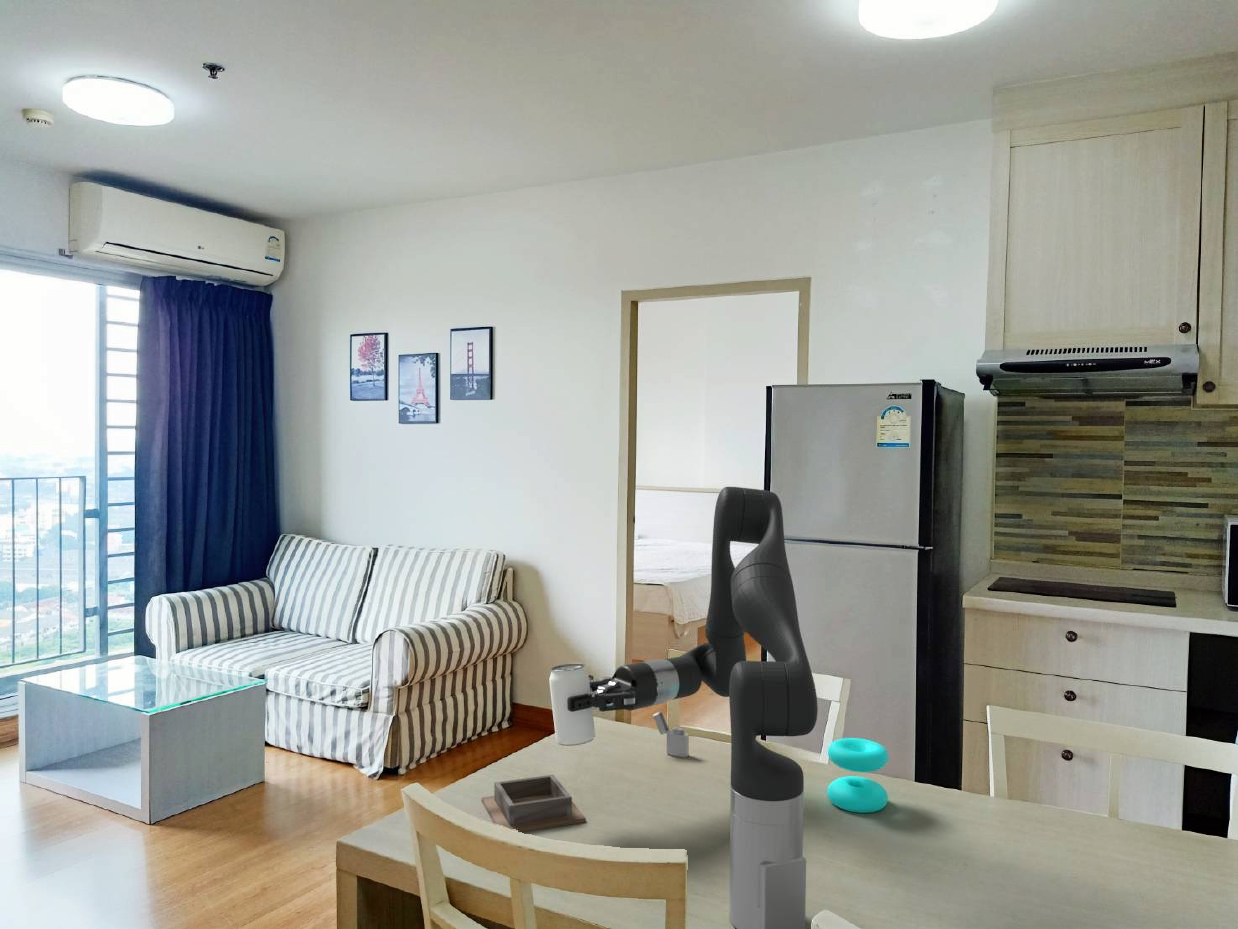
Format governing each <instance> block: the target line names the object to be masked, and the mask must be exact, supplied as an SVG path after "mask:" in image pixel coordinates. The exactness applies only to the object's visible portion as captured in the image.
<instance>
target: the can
mask: <svg viewBox="0 0 1238 929" xmlns="http://www.w3.org/2000/svg"><path fill="white" fill-rule="evenodd" d="M585 665H586V664H585V663H581V662H573V663H572V662H569V663H564V664H559V665H555V666H552V667H551V668H550V671H551V672H550V676H549V682H548V683H549V690H550V691H549V692H550V699H551V700H550V701H551V708H552V716H553V723H554V725H553V726H554V735H555V742H556V743H558V745H560V746H565V747H569V746H571V747H572V746H579V745H583V744H587V743H590V742H592V741H593V740H594V738H595V737H596V731H595V721H594V713H593V711H594V710H593V709H590V707H589V708H587V709H583V710H578V711H573V712H571V711H569V710H568V709H567V700H568V698H569V697H572V696H577V695H583V694H589V696H590V693H591V692H590V684H589V676H588V675H589V673H588V670H587V669H586V667H585Z"/></svg>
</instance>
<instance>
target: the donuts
mask: <svg viewBox="0 0 1238 929" xmlns="http://www.w3.org/2000/svg"><path fill="white" fill-rule="evenodd" d="M827 756H828V757H829V759H830V761H831V762H832V763H833V764H834V765H835V766H837V767H839V768H841V769H843V770H846V771H850V772H854V773H871V772H876V771H878V770H881V769H883V768H884V767H885V766H886V765H887V763H888V760H889V753H888V750H887V749H886V748H885V746H883V745H882V744H880V743H878V742H875V741H873V740H869V739H866V738H857V737H844V738H839V739H836V740H834V741H832V742H831V743H830V745H829V746H828V748H827ZM826 791H827V792H826V793H827V794H826V795H827V798H828V799H829V801H830V802H831V803H832V804H833V805H834V806H836V807H838V808H840V809H842V810H845V811H849V812H854V813H874V812H878V811H880V810H882V809H883V808H885V807H886V806H887V804H888V801H889V797H888V796H889V795H888V793H887V791H886V789H885V788H884V786H882V785H881V784H880V783H879V782H877V781H874V780H873V779H870V778H868V777H863V776H858V775H857V776H856V775H855V776H854V775H851V776H849V775H848V776H842V777H838V778H836V779H835V780H833V781H832V782H831V783H830V784H829V785H828V787H827V790H826Z"/></svg>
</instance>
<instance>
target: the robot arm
mask: <svg viewBox="0 0 1238 929" xmlns="http://www.w3.org/2000/svg"><path fill="white" fill-rule="evenodd" d="M712 528H713V530H712V547H711V548H712V549H711V575H710V576H711V578H710V579H711V580H710V594H709V603H708V609H707V615H706V620H705V627H704V628H705V629H704V630H705V631H704V634H705V638H706V640H707V641H708V642H705V643H702V644H699V645H697V646H696V647H694V648H692V649H691V650H689V651H687V652H685V653H682V655H680V656H675V657H669V658H666V659H665V658H664V659H650V660H646V661H640V662H639V661H638V662H635V663H630V664H624V665H620V666H619V667H618V668H616V670H615V672H614V673H613V675H612V676H602V677H600V678H596V679H594V675H591V674H588V676H589V684H590V692H591V693H590V696H589V694H583V695H577V696H572V697H569V698H568V700H567V709H568V710H569V711H571V712H573V711H578V710H583V709H587V708H589V707H590V709H592V710H593V711H594V710H597V709H598V711H599V712H603V713H604V712H610V711H621V710H622V711H623V710H626V711H635V710H640V709H644V708H649V707H652V706H658V705H662V704H664V703H667V702H669V701H674V700H678V699H681V698H682V699H683V698H687V697H690V696H693V695H695V694H696V693H697V692H698V691H699V690H700V689H701V687H702V682H703V684H705V685H707V687H708V688H709V689H711V691H713V692H714V693H715V694H716V695H718V696H720V697H724V698H729V718H730V719H729V720H730V734H731V735H730V743H731V744H730V749H731V750H730V807H729V809H730V810H729V819H730V820H729V822H730V823H729V904H728V905H729V910H728V911H729V915H728V916H729V921H730V923H731V925H732V926H733V927H734V928H736V929H806V917H807V916H806V914H807V913H806V908H807V905H806V904H807V902H806V901H807V900H806V899H807V886H806V885H807V860H806V857H804V850H803V848H804V845H803V844H804V838H803V837H804V789H805V788H804V787H805V786H804V784H805V782H804V779H805V778H804V772H803V768H802V766H801V765H800V764H799V763H798V762H797V761H795V760H794V759H792V758H790V757H788V756H786V755H784V754H780V753H778V752H776V751H773V750H771V749H769V748H768V747H766V746H764V745H762V744H761V742H759V741H758V740H756V739H757V737H760V736H762V737H802V736H806V735H808V734H810V733H811V732H812V731H814V728H815V726H816V723H817V719H818V712H819V710H818V708H819V706H818V696H817V690H816V685H815V681H814V680H815V679H814V677H813V673H812V669H811V665H810V662H809V659H808V655H807V651H806V649H805V645H804V642H803V637H802V633H801V629H800V623H799V615H798V609H797V607H798V606H797V599H796V594H795V590H794V589H795V588H794V584H793V580H792V575H791V569H790V566H789V561H788V556H787V551H786V543H785V531H784V530H785V529H784V517H783V507H782V503H781V500H780V498H779V496H778V495H777V494H776V493H775V492H773V491H770V490H767V489H766V490H765V489H757V488H748V487H739V486H724V487H723V488H722V489H721V490H720V491H719V494H718V496H717V499H716V503H715V508H714V516H713V526H712ZM731 542H737V543H743V544H744V543H745V544H755V545H757V546H756V547H754V549H752V550H751V551H749V552H748V553H747V554H746V555H745V556H744V557H743V558H742V559H741V561H739V563H738V564H736V565H737V566H735V565H734V562H733V559H732V554H731ZM745 632H746V633H747V634H748V635H749V636H750V637H751V638H752V640H754V641H755V642H756V643H757V644H759V645H760V646H761V647H762V648H763V649H764V650H765V651H766V652H767V653H768V654H769V655H771V657H772V659H774V661H763V660H762V661H761V660H747V653H746V644H745Z"/></svg>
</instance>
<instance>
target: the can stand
mask: <svg viewBox="0 0 1238 929" xmlns="http://www.w3.org/2000/svg"><path fill="white" fill-rule="evenodd" d="M493 786H494V792H493V793H494V794H493V795H490V796H483V797H481V802H482V804H483V806H484V808H485V810H486V812H487V813H488V815H489V817H490V818H491V821H492V822H493V824H494V823H496V824H499V825H503V826H505V827H508V828H510V829H516V830H518V831H521V832H520V833H523V832H529V831H536V830H542V829H547V828H548V829H549V828H554V827H556V828H557V827H560V826H567V825H574V824H580V823H586V821H587V818H586V816H585V815H584V814H583V812H582V811H581V810H580V809H579V808H578V807H577V805H576V804H575V803H574V801H573V797H572V795H571V794H570V793H569V792H568V791H567V789H566V788H565V787H564V786H563V785H562V783H561V782H560V781H559V780H558V778H557V777H556V776H555V775H554V774H549V775H547V774H546V775H541V776H535V777H534V776H533V777H526V778H518V779H511V780H504V781H496V782H494V784H493Z"/></svg>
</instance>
